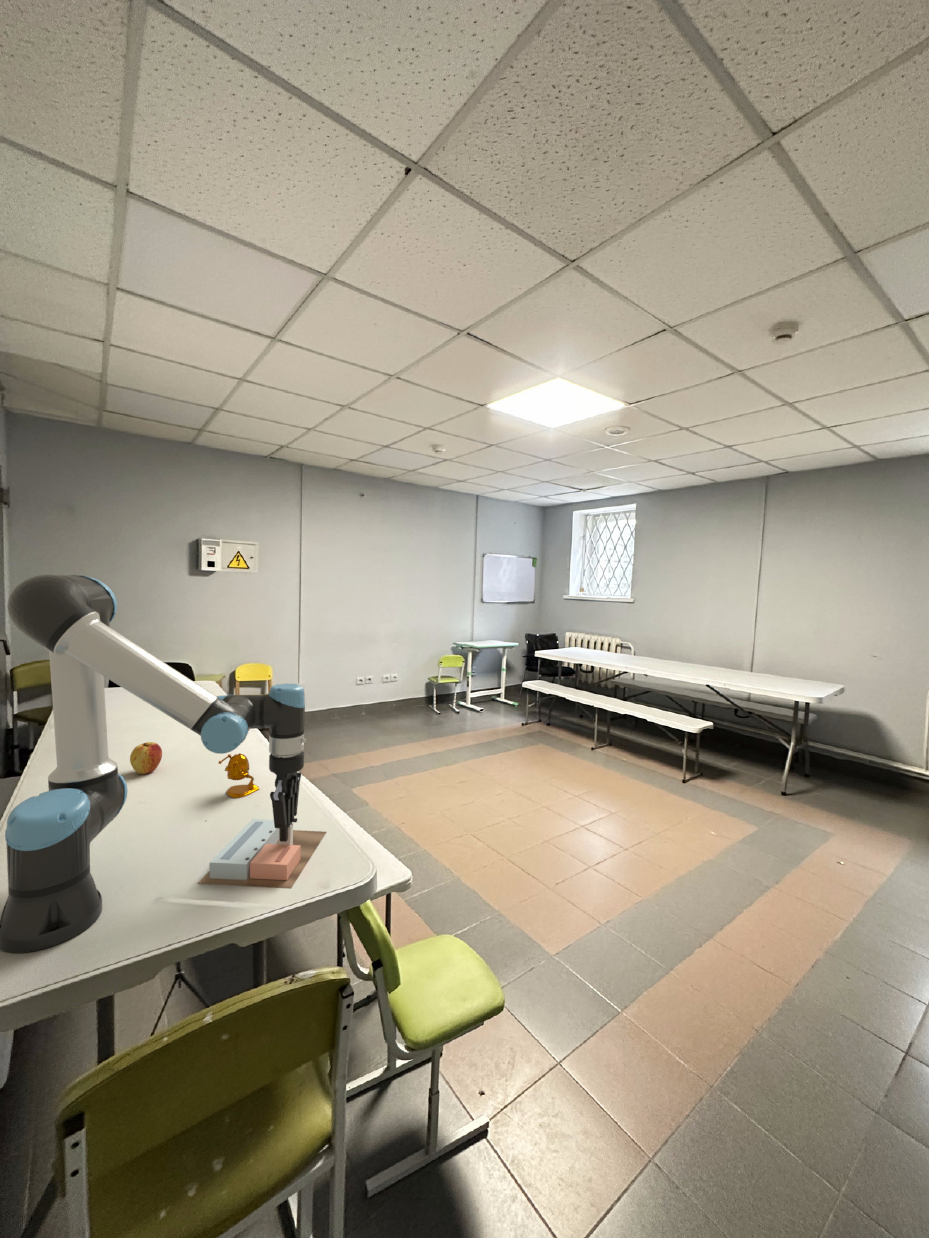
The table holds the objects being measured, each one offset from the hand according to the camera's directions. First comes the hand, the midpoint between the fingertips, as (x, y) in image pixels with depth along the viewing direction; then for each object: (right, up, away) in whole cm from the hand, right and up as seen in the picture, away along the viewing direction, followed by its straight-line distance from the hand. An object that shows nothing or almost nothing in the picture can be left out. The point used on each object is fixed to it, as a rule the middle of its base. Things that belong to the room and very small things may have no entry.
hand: (285, 851), depth 115 cm
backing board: (-4, -2, +1) cm, 5 cm away
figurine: (-27, +1, +37) cm, 46 cm away
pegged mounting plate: (-9, -2, +1) cm, 9 cm away
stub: (-1, -2, -5) cm, 5 cm away
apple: (-64, +3, +50) cm, 81 cm away
